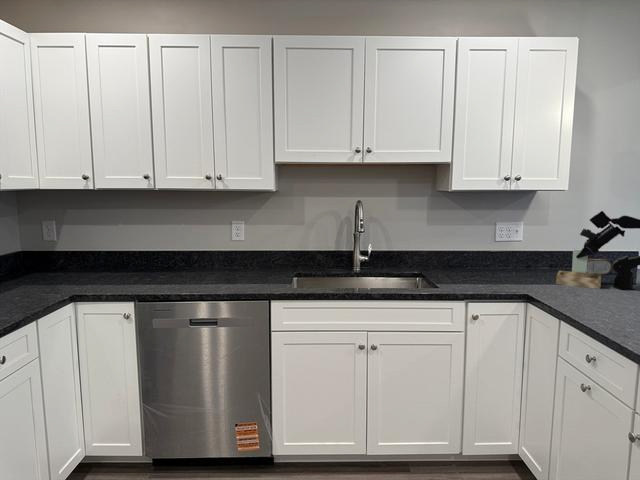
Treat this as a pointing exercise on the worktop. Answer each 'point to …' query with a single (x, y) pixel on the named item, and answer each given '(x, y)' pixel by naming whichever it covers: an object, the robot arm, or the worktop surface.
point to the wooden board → (578, 279)
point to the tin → (598, 266)
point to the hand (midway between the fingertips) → (577, 256)
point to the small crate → (579, 262)
